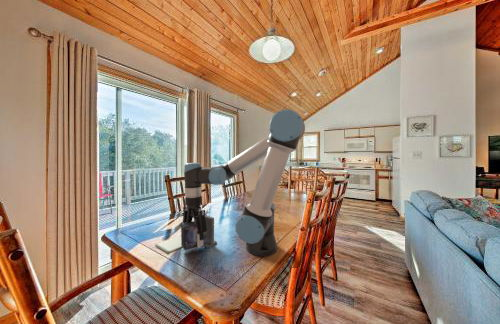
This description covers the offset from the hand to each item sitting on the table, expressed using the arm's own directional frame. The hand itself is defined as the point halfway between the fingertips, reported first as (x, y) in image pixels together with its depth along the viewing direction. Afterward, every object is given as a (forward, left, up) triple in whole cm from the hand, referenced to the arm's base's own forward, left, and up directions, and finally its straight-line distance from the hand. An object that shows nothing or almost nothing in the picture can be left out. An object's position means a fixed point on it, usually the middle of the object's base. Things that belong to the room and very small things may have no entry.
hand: (194, 243), depth 92 cm
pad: (+13, +1, -3) cm, 13 cm away
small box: (0, 0, -1) cm, 1 cm away
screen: (+4, -8, -3) cm, 10 cm away
